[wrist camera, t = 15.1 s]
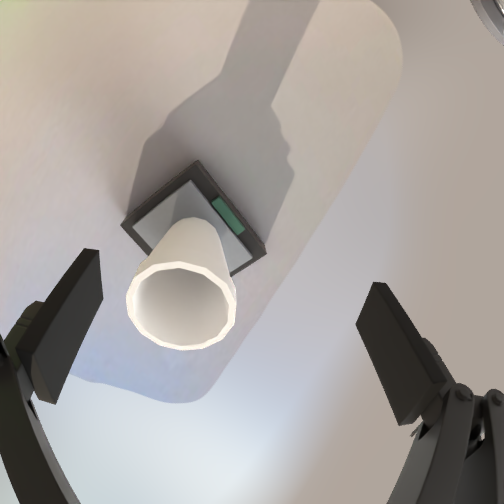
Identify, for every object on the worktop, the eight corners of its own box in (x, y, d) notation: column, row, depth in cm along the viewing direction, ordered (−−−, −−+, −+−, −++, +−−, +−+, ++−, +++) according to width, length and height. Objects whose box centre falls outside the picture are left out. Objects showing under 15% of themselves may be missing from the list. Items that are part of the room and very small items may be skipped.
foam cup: (154, 201, 35) (121, 256, 23) (236, 206, 36) (240, 264, 24) (155, 273, 39) (133, 345, 28) (229, 278, 40) (231, 353, 29)
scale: (264, 245, 42) (267, 257, 39) (193, 291, 45) (191, 305, 42) (197, 159, 36) (195, 165, 33) (125, 218, 39) (118, 228, 36)
